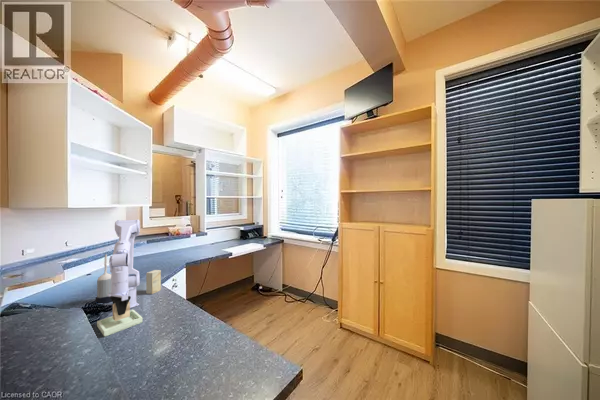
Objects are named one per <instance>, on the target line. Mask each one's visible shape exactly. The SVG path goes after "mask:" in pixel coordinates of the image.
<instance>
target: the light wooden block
mask: <svg viewBox="0 0 600 400" xmlns="http://www.w3.org/2000/svg"><path fill="white" fill-rule="evenodd" d="M161 275H162V270H161V269H153V270H151V271H148V272H146V274H145V276H146V278H145V279H146V282H145V283H146V285H145V287H146V291H145V292H146V294H148V295H153V294H155V293H158V292H161V290H162V281H161V280H162V276H161Z"/></svg>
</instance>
